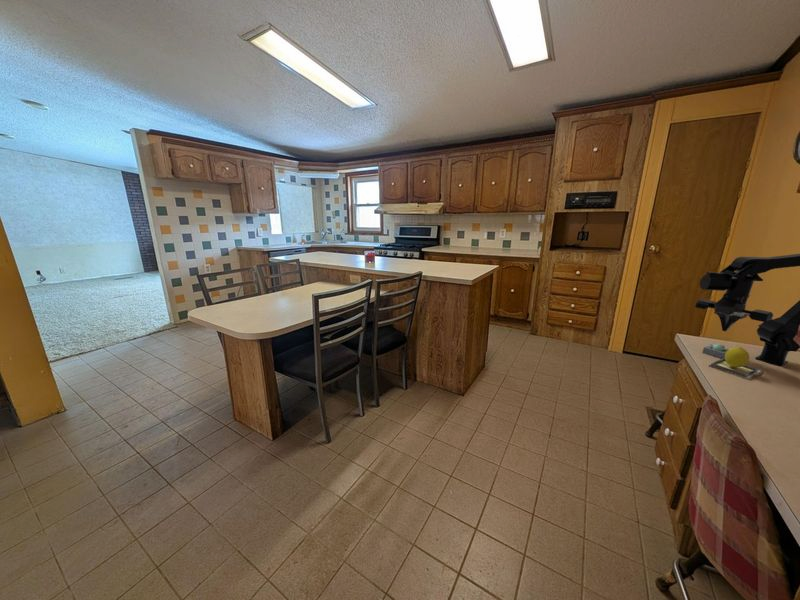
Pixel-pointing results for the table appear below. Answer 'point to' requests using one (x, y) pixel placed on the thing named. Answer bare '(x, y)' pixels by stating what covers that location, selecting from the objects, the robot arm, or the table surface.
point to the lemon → (737, 357)
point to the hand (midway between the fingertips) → (724, 330)
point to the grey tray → (736, 369)
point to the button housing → (714, 352)
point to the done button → (718, 347)
